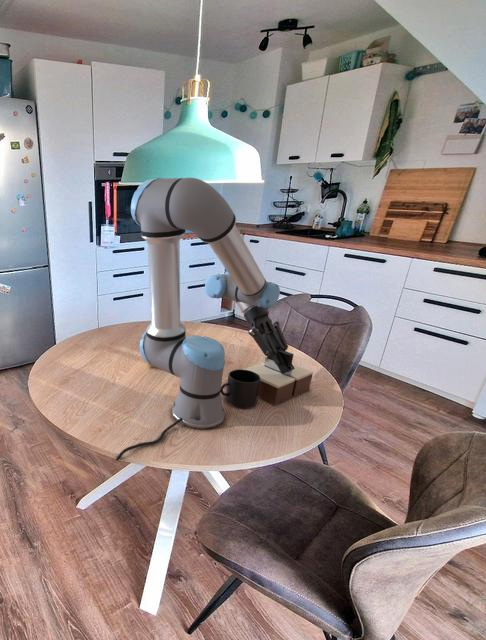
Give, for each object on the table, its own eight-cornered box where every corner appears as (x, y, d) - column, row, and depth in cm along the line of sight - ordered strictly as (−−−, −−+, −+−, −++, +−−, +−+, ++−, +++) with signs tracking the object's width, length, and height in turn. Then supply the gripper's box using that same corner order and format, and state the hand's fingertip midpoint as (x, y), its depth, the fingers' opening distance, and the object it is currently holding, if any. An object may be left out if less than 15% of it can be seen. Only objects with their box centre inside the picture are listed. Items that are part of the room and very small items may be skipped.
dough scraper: (286, 390, 125) (293, 356, 120) (260, 378, 133) (266, 346, 128) (289, 388, 126) (296, 355, 121) (264, 377, 134) (269, 345, 129)
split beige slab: (274, 405, 121) (278, 386, 118) (239, 387, 131) (241, 369, 129) (309, 390, 129) (313, 371, 126) (273, 374, 140) (276, 357, 137)
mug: (213, 395, 126) (215, 370, 123) (247, 392, 128) (251, 368, 124) (224, 410, 118) (228, 384, 114) (261, 407, 119) (266, 381, 116)
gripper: (260, 311, 137) (293, 370, 131) (230, 318, 130) (265, 381, 123) (275, 299, 130) (311, 361, 124) (245, 306, 123) (282, 372, 117)
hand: (288, 371), depth 124 cm, fingers closed on dough scraper, 2 cm apart
